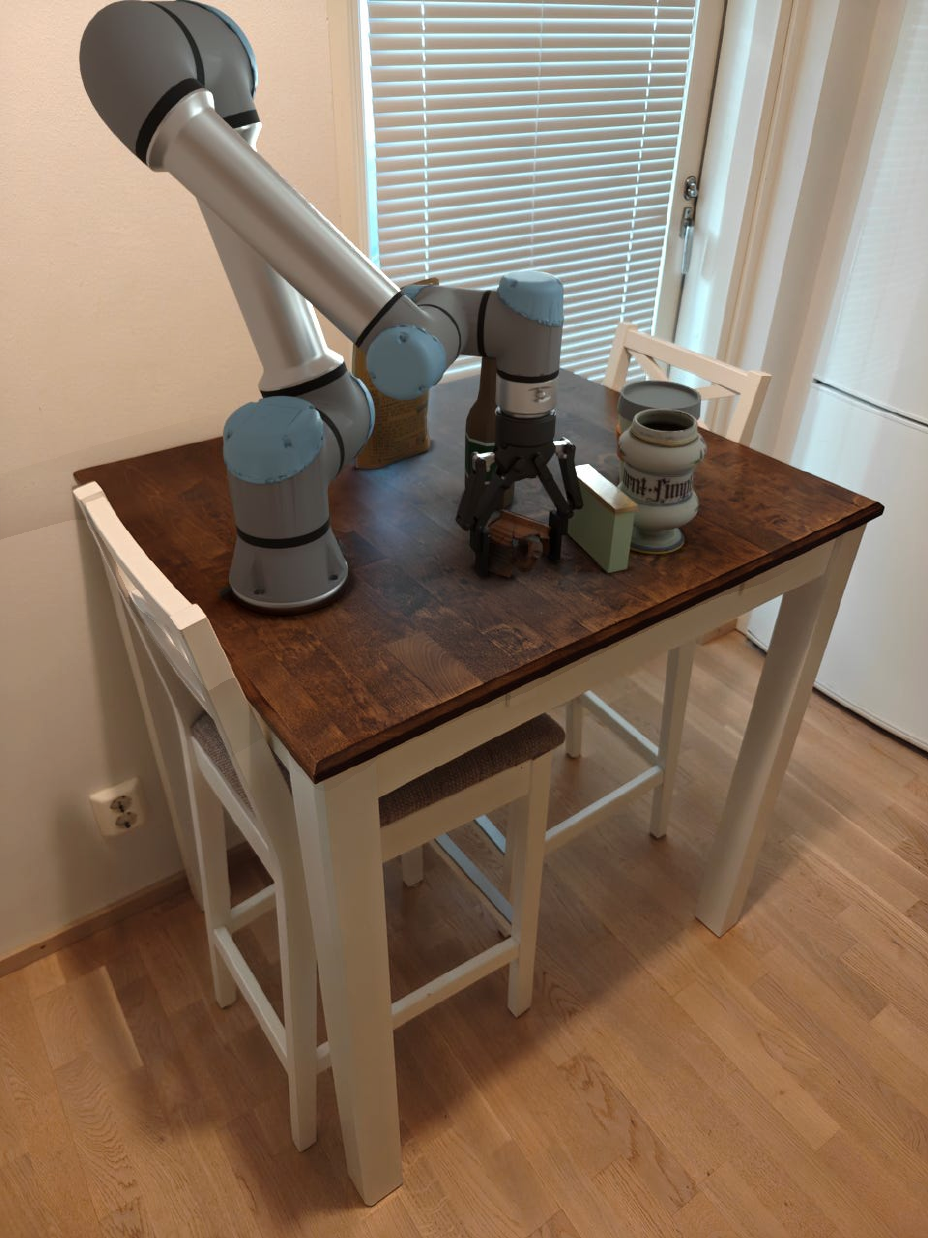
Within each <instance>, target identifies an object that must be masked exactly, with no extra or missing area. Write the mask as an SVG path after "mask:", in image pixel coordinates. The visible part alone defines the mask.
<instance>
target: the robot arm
mask: <svg viewBox="0 0 928 1238" xmlns="http://www.w3.org/2000/svg"><path fill="white" fill-rule="evenodd" d="M79 44H80V46H79V53H78V59H79V61H78V62H79V71H80V78H81V80H82V84H83V87H84V90H85V93H86V95H87V98H88V99H89V101H90V103H91V105H92V108H93V109H94V110H95V112H96V113H97V115H98V116H99V118H100V119H101V120H102V121H103V122H104V124H105V125H106V126H107V128H108V129H109V130H110V131H111V132H112V133H113V135H114V136H115V137H116V138H117V139H118V140H119V141H120V143H122V144H123V146H125V147H126V148H127V149H128V150H129V151H130V152H131V154H132V155H134V156H135V157H136V158H137V159H138V160H140V162H142V163H143V164H144V165H145V167H147V168H148V169H149V170H150V171H151V172H153V173H168V174H170V175H171V176H172V177H173V179H175V180H176V181H178V183H179V184H180V185H182V187H184V189H186V190H187V191H188V192H189V193H190V194H191V195H192V196H193V197H195V199H196V202H197V205H198V207H199V210H200V212H201V215H202V217H203V219H204V222H205V226H206V227H207V230H208V233H209V235H210V237H211V239H212V241H213V244H214V248H215V251H216V252H217V255H218V257H219V261H220V262H221V265H222V268H223V270H224V273H225V276H226V277H227V279H228V280H227V281H228V282H229V285H230V288H231V290H232V293H233V296H234V298H235V300H236V303H237V305H238V308H239V311H240V313H241V316H242V318H243V321H244V323H245V325H246V329H247V330H248V334H249V336H250V338H251V340H252V344H253V346H254V348H255V351H256V353H257V356H258V358H259V361H260V363H261V366H262V369H263V371H262V375H261V377H260V379H259V382H258V384H257V387H258V390H259V392H260V396H261V398H259V399H258V401H255V402H254V401H249V402H247V403H245V404H243V405H242V406H239V407H238V408H237V409H235V410H234V411H233V412H232V413H231V414H230V415H229V416H228V417H227V419H226V421H225V423H224V425H223V430H222V441H223V446H222V456H223V461H224V464H225V468H226V473H227V480H228V486H229V492H230V498H231V505H232V511H233V512H232V513H233V517H234V521H235V522H234V523H235V531H236V541H235V545H234V550H233V555H232V559H231V564H230V569H229V574H228V582H229V584H228V585H227V586H225V587H223V588H222V589H221V590H219V591H218V595H219V596H220V598H221V599H224V598H226V597H227V596H229V595H230V594H231V596H232V598H233V600H235V602H236V603H238V604H239V605H240V606H241V607H243V608H245V609H247V610H249V611H252V612H254V613H259V614H263V615H270V616H295V615H300V614H306V613H310V612H314V611H316V610H320V609H323V608H325V607H326V606H329V605H331V604H332V603H334V602H335V601H337V600H338V599H339V598H340V597H341V596H343V594H344V593H345V592H346V590H347V588H348V586H349V582H350V581H349V578H350V577H349V567H348V562H347V560H346V558H347V559H348V558H349V555H348V554H349V553H348V547H346V545H345V544H344V543H343V541H342V540H341V539H340V538H338V541H337V539H336V536H335V534H334V532H333V530H332V527H331V519H330V518H331V517H330V507H329V506H330V505H329V493H328V489H329V486H330V485H331V484H332V482H334V480H335V479H336V478H337V477H338V476H339V474H341V472H342V471H343V470H344V469H345V468H346V467H347V466H348V464H349V463H351V461H352V460H354V459H355V458H357V455H358V454H359V453H360V452H361V451H362V450H363V448H364V446H365V445H366V443H367V441H368V439H369V437H370V436H371V433H372V431H373V427H374V423H375V408H374V403H373V400H372V397H371V395H370V393H369V391H368V389H367V387H366V386H365V385H364V383H363V382H362V381H361V380H360V379H358V378H355V377H354V376H353V374H352V372H351V371H349V370H348V367H347V365H346V361H345V359H344V356H343V355H341V354H340V353H338V352H337V351H336V352H335V351H333V350H332V349H330V348H329V347H328V346H327V342H326V340H325V338H324V333H323V332H322V329H321V325H320V322H319V320H318V318H317V315H316V312H315V309H316V310H317V311H318V312H319V313H320V314H321V315H322V316H323V317H324V318H326V319H327V321H329V322H330V323H331V324H332V325H333V326H334V327H335V328H336V329H338V331H340V332H341V333H342V334H343V335H344V337H346V338H347V340H349V341H351V343H352V344H353V343H354V344H355V345H356V346H357V347H358V348H359V349H360V350H361V351H362V352H363V353H364V354H365V355H366V356H367V357H366V366H367V370H368V373H369V376H370V378H371V380H372V382H373V384H374V385H375V386H376V388H377V389H378V390H379V391H381V392H382V393H383V394H385V395H386V396H389V397H391V398H394V399H397V400H411V399H415V398H417V397H419V396H421V395H423V394H424V393H425V392H426V391H428V390H429V391H430V389H431V388H432V387H434V386H437V384H439V383H440V382H441V380H442V379H443V377H444V374H445V373H446V372H447V370H448V369H449V368H450V366H451V365H453V364H454V363H455V362H456V360H457V359H458V358H459V357H460V356H470V357H478V358H479V357H481V358H482V357H495V358H496V361H497V370H496V397H495V403H496V405H497V406H498V407H497V408H496V410H495V431H494V435H495V444H494V447H493V449H492V451H491V452H489V453H484V454H479V453H478V452H472V453H471V455H470V472H469V476H468V479H467V482H466V486H465V485H464V489H463V492H462V495H461V499H460V502H459V505H458V509H457V512H456V516H455V522H456V523H457V525H458V526H459V527H460V528H461V530H462V531H464V532H469V534H468V535H469V538H468V545H469V548H470V550H471V551H472V552H473V553H474V567H475V568H476V570H477V571H478V572H479V574H480V575H481V576H482V577H484V576H489V569H488V552H489V532H488V531H489V529H487V528H486V526H487V525H488V524H489V521H490V520H491V518H492V515H494V512H495V511H496V510H495V509H496V507H497V505H498V503H499V502H500V500H501V498H502V497H503V495H504V493H505V491H506V490H507V489H509V488H510V487H511V485H512V484H513V482H515V483H516V482H521V481H523V480H525V479H528V480H533V479H537V478H538V479H539V481H540V483H541V485H542V486H543V489H545V492H546V493H547V495H548V497H549V498H550V500H551V502H552V505H554V507H555V508H554V509H549V511H548V524H547V525H548V526H549V527H551V529H550V531H549V534H548V535H549V537H550V540H549V542H550V547H549V549H550V551H549V553H548V556H550V557H551V559H553V561H555V562H557V561H558V562H559V561H560V560H561V555H562V554H561V553H562V552H561V551H562V543H563V536H567V534H568V533H567V532H568V521H569V519H570V518H572V517H573V515H574V512H573V510H575V509H577V510H580V509H582V507H583V500H582V495H581V490H580V486H579V481H578V476H577V471H576V467H575V466H576V463H575V459H576V451H577V447H576V445H575V444H574V443H573V442H571V441H570V440H569V439H568V438H567V437H561V438H560V439H559V441H555V440H554V438H555V434H556V425H557V424H556V423H557V422H556V421H557V410H556V409H555V408H556V407H557V404H558V389H559V377H560V376H559V375H560V364H561V353H562V352H561V351H562V340H563V330H564V321H565V316H564V284H563V281H561V279H560V278H559V277H557V276H556V275H554V274H552V273H549V272H545V271H539V270H538V271H537V270H526V271H523V270H516V271H510V272H507V273H505V274H503V275H502V276H500V277H501V278H500V279H499V283H498V287H497V289H492V290H491V289H481V288H467V287H458V286H448V285H447V286H446V285H440V284H439V285H435V284H427V285H409V284H407V285H408V286H406V285H405V286H406V287H404V286H403V287H404V288H403V289H402V290H400V289H399V288H400V287H398V286H397V285H396V284H395V283H394V282H393V281H392V280H391V279H390V278H389V277H388V276H386V274H384V272H383V271H381V270H380V268H379V267H378V266H377V265H375V264H374V263H373V262H372V261H371V260H370V259H369V258H368V257H367V256H366V255H365V254H364V253H363V252H362V251H360V249H358V247H357V246H355V245H354V243H352V242H351V241H350V240H349V239H348V238H347V237H346V236H345V235H344V234H343V233H342V232H341V231H340V230H339V229H338V228H337V227H336V226H335V225H334V224H333V223H332V222H330V220H328V218H326V217H325V216H324V214H322V213H321V212H320V211H319V210H318V209H317V208H316V207H315V206H314V205H313V204H312V203H311V202H310V201H308V200H307V198H305V196H303V194H302V193H301V192H300V191H298V190H297V189H296V188H295V187H294V186H293V185H292V184H291V183H290V182H289V181H288V180H287V179H286V178H285V177H284V176H283V175H282V174H281V173H280V172H279V171H277V170H276V168H274V167H273V166H272V164H270V162H269V161H267V160H266V159H265V158H264V157H263V156H262V155H261V154H260V153H259V152H258V150H257V146H256V143H257V140H258V137H259V135H260V132H261V129H262V127H263V125H262V122H261V120H260V116H259V113H258V111H257V108H256V107H257V106H256V104H255V102H254V99H255V97H256V91H257V87H258V85H259V71H258V70H259V69H258V63H257V59H256V55H255V53H254V50H253V47H252V45H251V42H250V41H249V39H248V37H247V36H246V34H245V32H244V30H242V29H241V27H240V26H239V25H238V24H237V23H236V21H234V20H233V19H232V18H231V17H230V16H229V15H227V14H226V13H225V12H224V11H222V10H221V9H218V8H216V7H215V6H212V5H209V4H206V3H202V2H199V1H196V0H118V1H114V2H112V3H109V4H107V5H105V6H104V7H103V8H101V9H100V10H98V11H97V12H96V13H95V14H94V15H93V17H92V18H91V19H90V20H89V21H88V23H87V25H86V27H85V28H84V31H83V34H82V37H81V39H80V43H79ZM314 308H315V309H314ZM554 455H555V456H556V457H557V461H558V465H559V470H560V474H561V479H562V483H563V488H564V491H565V496H566V497H565V496H564V495H563V493H562V491H561V489H560V487H559V486H558V484H557V482H556V481H555V479H554V475H553V473H552V472H551V470H550V468H549V466H548V464H549V462H550V461H551V460H552V458H553V456H554ZM493 462H495V463H496V465H497V466H496V468H495V469H494V471H493V473H492V479H491V481H490V483H489V484H488V486H487V488H486V490H485V491H484V493H483V495H482V497H481V498H480V496H481V493H482V490H483V487H484V484H485V480H486V475H487V472H489V471H490V465H491V464H492V463H493ZM503 474H504V475H505V477H503ZM344 555H345V556H346V558H345V556H344Z"/></svg>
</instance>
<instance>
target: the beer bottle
mask: <svg viewBox="0 0 928 1238" xmlns="http://www.w3.org/2000/svg"><path fill="white" fill-rule="evenodd" d="M496 370H497V361H496V358H495V357H481V364H480V374H479V375H480V376H479V385H478V386H479V388H478V393H477V398H476V401H475V402H474V403H473V404H472V406H471V407H470V409H469V411H468V413H467V415H466V419H465V429H464V482H463V483H464V487H465V486H466V482H467V479H468V476H469V472H470V455H471V453H472V452H478V453H479V454H484V453H489V452H491V451H492V449H493V447H494V444H495V435H494V431H495V410H496V408H497V407H498V406H497V405H496V403H495V397H496ZM496 466H497V465H496V463H495V462H493V463H492V464H491V465H490V471H489V472H487V475H486V480H485V484H484V487H483V490H482V493H481V496H480V498H481V497H482V495H483V493H484V491H485V490H486V488H487V486H488V484H489V483H490V481H491V479H492V473H493V471H494V469H495V468H496ZM503 477H505V475H504V474H503ZM515 486H516V482H513V484H512V485H511V487H510V488H509V489H507V490H506V491H505V493H504V495H503V497H502V498H501V500H500V502H499V503H498V505H497V507H496V509H495V510H494V511H497V510H504V508H506V507H507V506H509V505H510V504H512V503H513V502H514V497H515Z"/></svg>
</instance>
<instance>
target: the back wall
mask: <svg viewBox="0 0 928 1238" xmlns="http://www.w3.org/2000/svg"><path fill="white" fill-rule="evenodd" d="M575 467H576V471H577V476H578V481H579V486H580V490H581V495H582V500H583V507H582V509H580V510H577V509H575V510H573V512H574V515H573V517H572V518H570V519H569V521H568V532H567V534H568V536H570V537H571V538H572V539H573V540H574V541H575V542H576V543H577V544H578V545H579V547H581V548H582V549H583V550H584V551H585V552H586V553H587V554H588V555H589V556H590V557H591V558H592V559H593V560H594V561H595V562H596V563H597V564H598V565H599V566H600V567H601V568H602V569H603V570H604V571H605V572H606V573H607V574H609V573H614V572H619V571H624V570H627V569H628V565H629V557H630V552H631V549H630V543H631V536H632V529H633V521H634V514H635V511H636V510H637V509H638V505H637V504H636V503H635V502H634V501H632V500H631V499H630V498H629V497H628V496H626V495H625V494H624V493H623V492H622V491H620V490H619V489H618V488H617V486H616V485H615V484H613V483H612V482H611V481H610V480H609V479H607V477H605V476H604V475H602V474H601V473H600V472H598V471H597V469H595V468H594V467H593V466H592V465H590V464H589V463H586V464H581V465H575Z"/></svg>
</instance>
